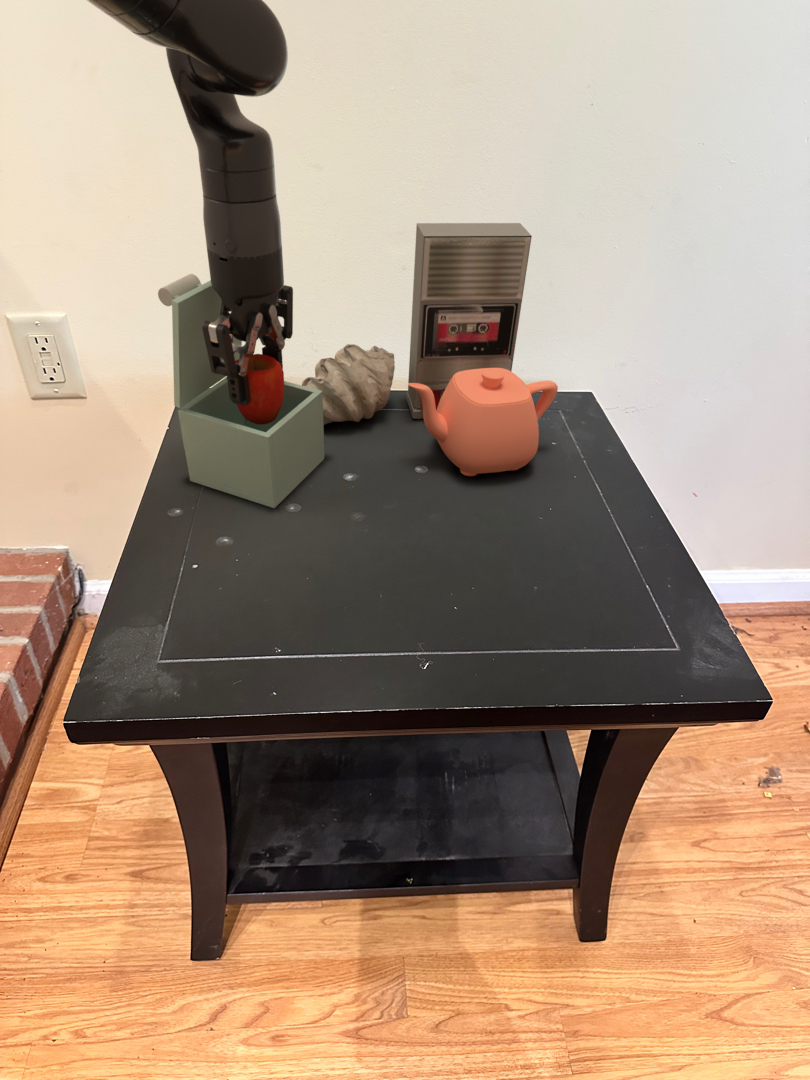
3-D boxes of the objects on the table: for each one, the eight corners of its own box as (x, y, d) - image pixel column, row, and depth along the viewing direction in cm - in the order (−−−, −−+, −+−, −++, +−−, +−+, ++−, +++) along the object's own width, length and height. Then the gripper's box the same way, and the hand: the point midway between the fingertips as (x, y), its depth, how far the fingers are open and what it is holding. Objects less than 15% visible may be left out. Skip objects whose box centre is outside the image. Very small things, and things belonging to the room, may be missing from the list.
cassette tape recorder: (413, 421, 103) (423, 238, 87) (406, 400, 107) (415, 223, 92) (507, 417, 105) (534, 238, 89) (496, 396, 110) (521, 222, 94)
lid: (245, 267, 83) (205, 251, 84) (178, 302, 74) (134, 284, 75) (240, 366, 91) (204, 350, 92) (179, 408, 83) (140, 390, 84)
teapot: (390, 439, 99) (393, 355, 91) (526, 423, 104) (539, 342, 96) (419, 495, 89) (425, 407, 81) (567, 475, 94) (586, 390, 86)
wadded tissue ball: (406, 430, 101) (409, 364, 94) (298, 440, 98) (294, 371, 91) (390, 395, 108) (392, 331, 102) (289, 403, 105) (285, 337, 99)
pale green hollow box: (324, 458, 94) (322, 390, 88) (274, 508, 86) (268, 437, 80) (245, 435, 98) (238, 368, 92) (189, 481, 89) (177, 410, 83)
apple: (240, 403, 89) (233, 346, 84) (290, 406, 89) (287, 349, 84) (228, 430, 84) (221, 370, 79) (282, 433, 84) (277, 373, 79)
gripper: (252, 218, 80) (264, 359, 91) (168, 254, 70) (192, 409, 80) (312, 229, 78) (316, 373, 88) (234, 269, 67) (250, 426, 78)
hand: (257, 390), depth 84 cm, fingers closed on apple, 6 cm apart
